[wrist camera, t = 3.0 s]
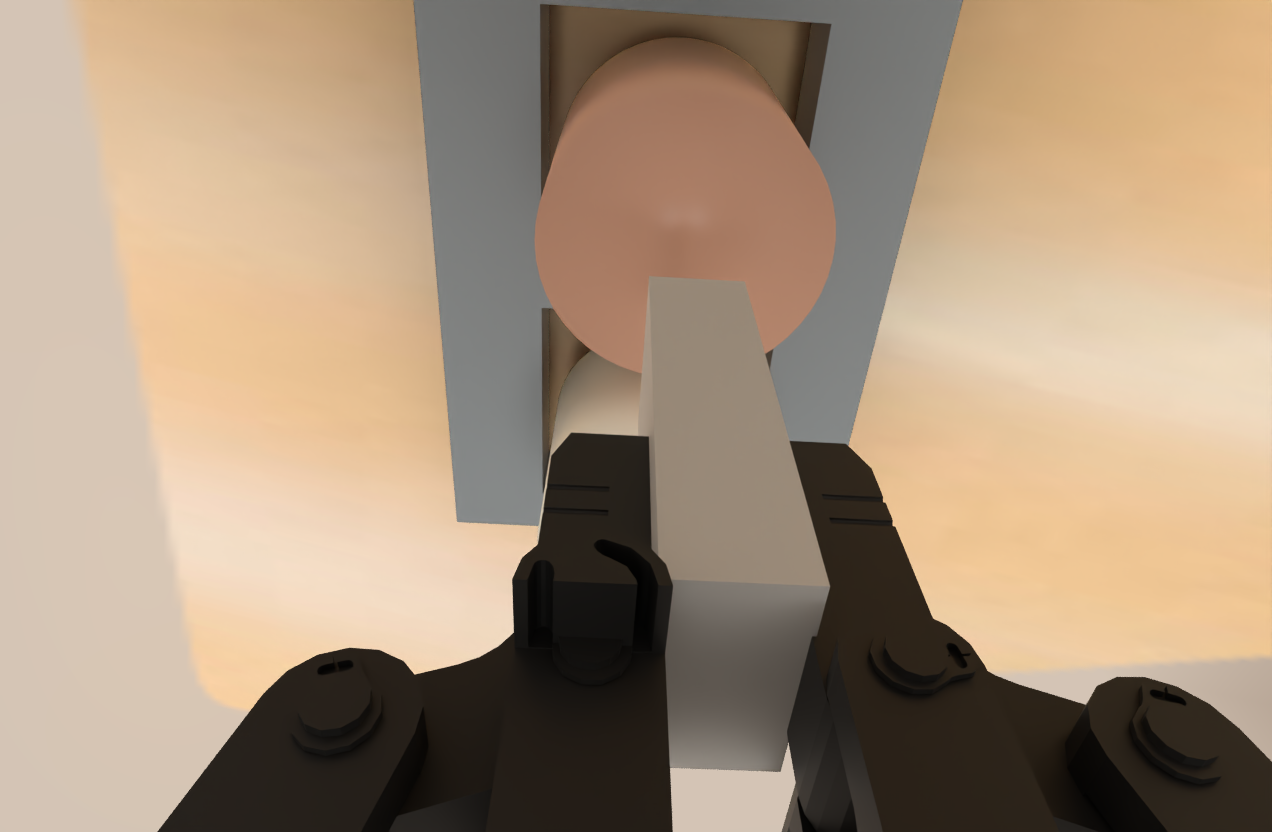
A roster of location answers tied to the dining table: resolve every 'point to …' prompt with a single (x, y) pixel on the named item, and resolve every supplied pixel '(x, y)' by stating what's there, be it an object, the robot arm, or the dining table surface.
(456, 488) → the board
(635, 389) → the cream cylinder
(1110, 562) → the dining table surface
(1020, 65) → the dining table surface
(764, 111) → the pink cylinder
